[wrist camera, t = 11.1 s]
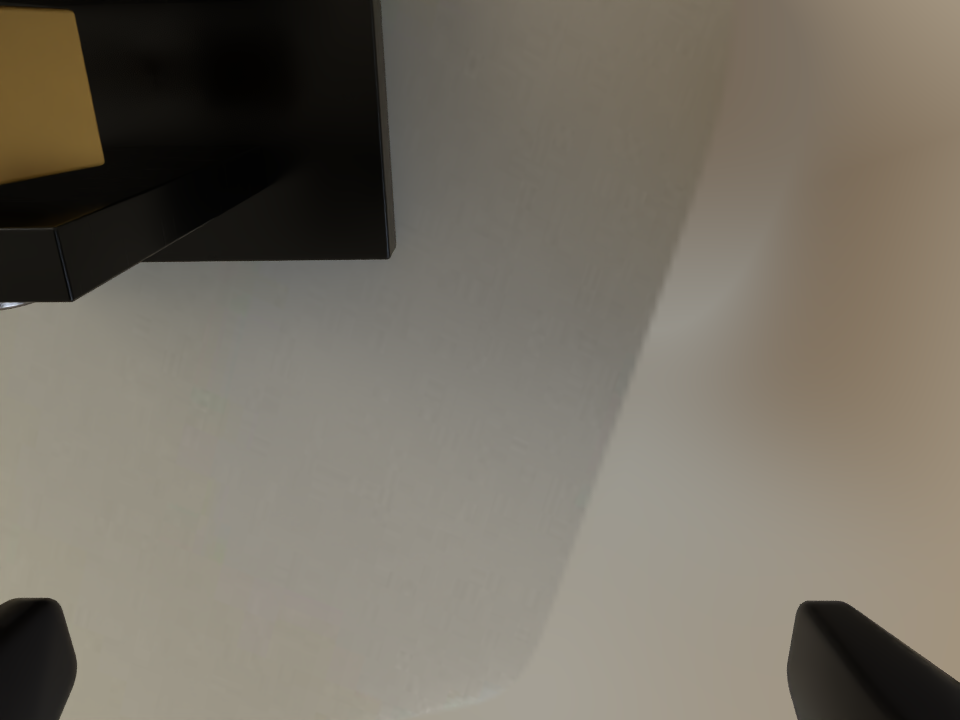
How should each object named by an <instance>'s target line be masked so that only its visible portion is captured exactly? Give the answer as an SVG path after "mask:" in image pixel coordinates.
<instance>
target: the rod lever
mask: <svg viewBox="0 0 960 720" xmlns="http://www.w3.org/2000/svg"><path fill="white" fill-rule="evenodd" d="M104 162H105V160H104V155H103V150H102V145H101V140H100V135H99V130H98V125H97V120H96V116H95V111H94V106H93V101H92V96H91V91H90V86H89V81H88V77H87V72H86V67H85V62H84V57H83V52H82V47H81V42H80V37H79V33H78V28H77V23H76V18H75V14H74V12H73V11H71V10H69V9H60V8H41V7H21V6H1V5H0V185H4V184H10V183H15V182H20V181H25V180H30V179H35V178H41V177H46V176H51V175H56V174H61V173H66V172H71V171H77V170H82V169H87V168H92V167H97V166H101V165H103V164H104Z"/></svg>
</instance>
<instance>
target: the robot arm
mask: <svg viewBox="0 0 960 720" xmlns="http://www.w3.org/2000/svg"><path fill="white" fill-rule="evenodd" d="M76 672H77V660H76V655H75V652H74V648H73V645H72V641H71V638H70V634H69V631H68V627H67V624H66V621H65V617H64V614H63V610H62V608H61V606H60V605H59V603H58V602H57V601H56V600H53V599H51V598H15V599H12V600H9V601H7V602H5V603H3V604H1V605H0V720H59V718H60V716H61V714H62V711H63V709H64V707H65V704H66V702H67V700H68V697H69V695H70V692H71V690H72V688H73V685H74V682H75V678H76ZM787 678H788V685H789V690H790V694H791V698H792V701H793V704H794V708H795V712H796V715H797V719H798V720H960V683H959V682H958V681H956V680H955V679H954V678H952V677H951V676H950V675H948V674H947V673H945V672H944V671H942V670H941V669H940V668H938V667H937V666H935V665H934V664H933V663H931V662H930V661H928V660H927V659H925V658H924V657H923V656H921V655H920V654H918V653H917V652H916V651H914V650H913V649H911V648H910V647H909V646H907V645H906V644H904V643H903V642H901V641H900V640H899V639H897V638H896V637H894V636H893V635H892V634H890V633H888V632H887V631H886V630H885V629H883V628H882V627H880V626H879V625H877V624H876V623H875V622H873V621H872V620H870V619H869V618H868V617H866V616H865V615H863V614H862V613H861V612H859V611H858V610H856V609H855V608H853V607H852V606H850V605H849V604H847V603H845V602H841V601H805V602H803V603H802V604H800V606H799V608H798V610H797V613H796V617H795V623H794V629H793V634H792V640H791V646H790V651H789V657H788V663H787Z"/></svg>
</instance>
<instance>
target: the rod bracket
mask: <svg viewBox="0 0 960 720" xmlns="http://www.w3.org/2000/svg"><path fill="white" fill-rule="evenodd" d="M0 5H1V6H21V7H41V8H60V9H69V10H71V11H73V12H74V14H75V18H76V23H77V28H78V33H79V37H80V42H81V47H82V52H83V57H84V62H85V67H86V72H87V77H88V81H89V86H90V91H91V96H92V101H93V106H94V111H95V116H96V120H97V125H98V130H99V135H100V140H101V145H102V150H103V155H104V160H105V162H104V164H103V165H101V166H97V167H92V168H87V169H82V170H77V171H71V172H66V173H61V174H56V175H51V176H46V177H41V178H35V179H30V180H25V181H20V182H15V183H10V184H4V185H0V310H6V309H11V308H16V307H21V306H25V305H28V304H32V303H34V302H73V301H75V300H77V299H78V298H80V297H82V296H84V295H85V294H87V293H89V292H90V291H92V290H94V289H95V288H97V287H99V286H101V285H102V284H104V283H106V282H107V281H109V280H111V279H112V278H114V277H116V276H118V275H119V274H121V273H123V272H124V271H126V270H128V269H130V268H131V267H133V266H135V265H136V264H138V263H140V262H199V261H285V260H371V259H389V258H390V257H391V255H392V253H393V251H394V250H395V248H396V235H395V220H394V204H393V188H392V173H391V157H390V141H389V126H388V110H387V94H386V79H385V63H384V47H383V32H382V16H381V0H0Z"/></svg>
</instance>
